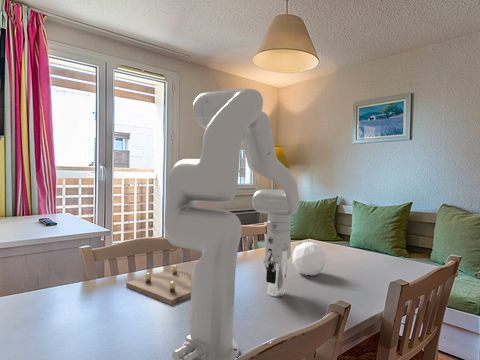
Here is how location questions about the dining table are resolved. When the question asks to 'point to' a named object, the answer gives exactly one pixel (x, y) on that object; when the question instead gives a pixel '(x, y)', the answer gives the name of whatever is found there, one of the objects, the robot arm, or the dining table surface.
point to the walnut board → (164, 285)
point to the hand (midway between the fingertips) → (276, 279)
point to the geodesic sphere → (309, 258)
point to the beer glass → (278, 277)
